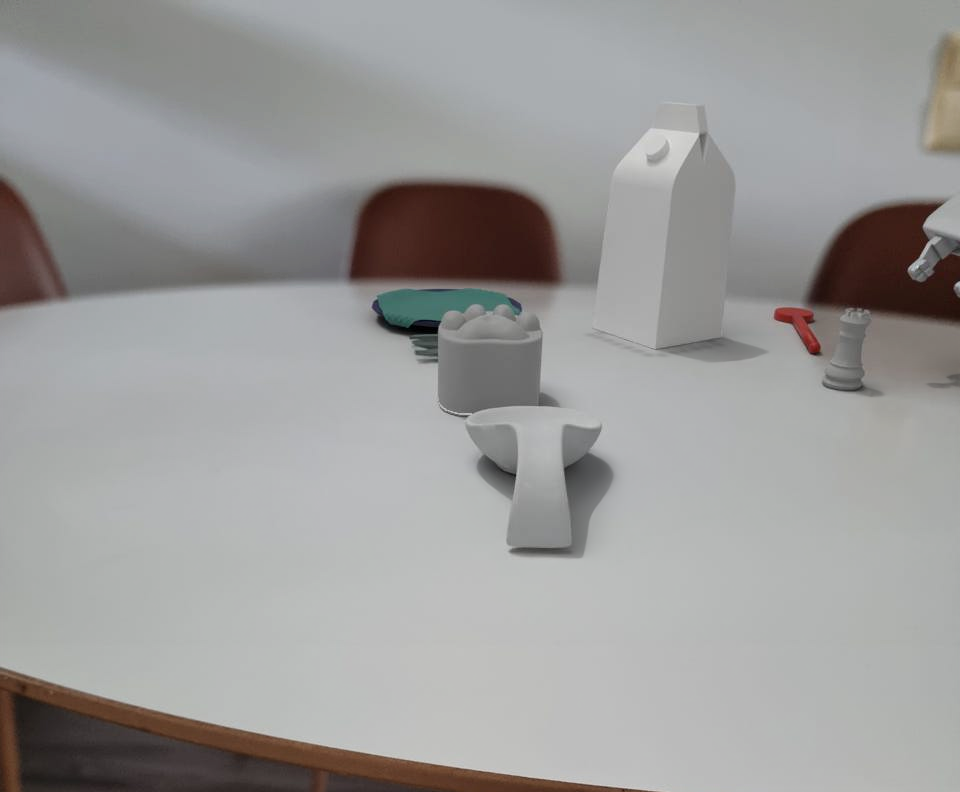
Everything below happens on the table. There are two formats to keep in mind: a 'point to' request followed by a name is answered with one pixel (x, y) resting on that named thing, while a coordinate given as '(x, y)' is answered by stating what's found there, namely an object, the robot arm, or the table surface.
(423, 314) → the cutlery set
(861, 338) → the rook chess piece
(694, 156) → the milk
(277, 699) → the table surface
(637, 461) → the table surface
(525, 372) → the lumpy-topped squat cylinder
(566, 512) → the spoon rest
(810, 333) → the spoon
